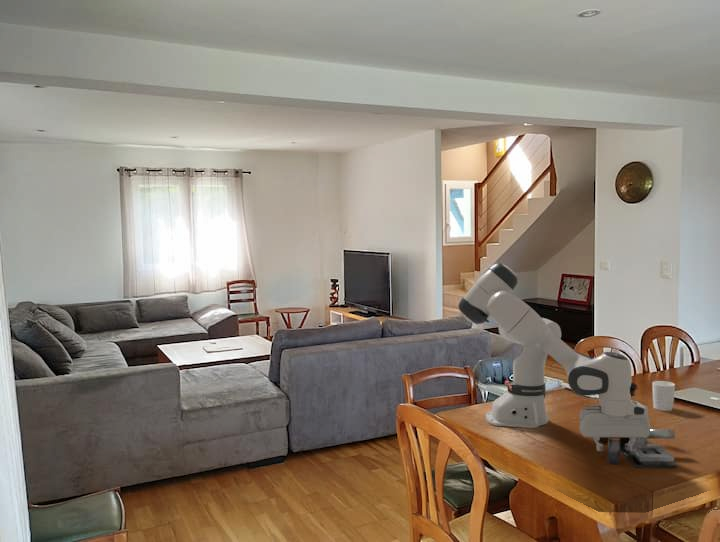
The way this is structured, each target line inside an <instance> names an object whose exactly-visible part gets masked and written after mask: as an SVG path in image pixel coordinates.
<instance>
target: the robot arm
mask: <svg viewBox="0 0 720 542" xmlns="http://www.w3.org/2000/svg"><path fill="white" fill-rule="evenodd" d="M518 281H519V280H518V277H517V276H516V273H515V271H514V270H513V269H512V268H511V267H509V266H507V265H506V264H503V263H499V262H498V263H497V262H495V263H494V264H492V265H491V266H490V267H489V268H488V270H487V271H485V272H483V274H482V275H481V276H480V277H478V279H477V280H475V282H474V283H473V285H472V286H471V288H469V290H468V291H467V292H466V294H465V295H464V297H462V298H461V299H460V300H459V303H458V311H460V314H461V316H462V317H463V318H464V320H466V321H468V322H470V323H472V324H475V325H482V324H484V323H490V320H489V318H490V319H492V320H493V321H494V322H495V324H496V325H498V334H499V335H500V336H501V337H502V339H504V340H506V341H509V342H511V343H514V344H517V345H522V346H523V349H522V350H523V351H522V353H521V355H519V356H517V357H516V358H515V359H514V360H513V362H512V365H513V366H512V374H513V375H512V381H509V380H505V381H504V386H505V387H507V391H506V392H505V393H503V394H502V395H500V396H499V397H498V398H496V399H495V400H494V401H493V403H492V406H491V411H487V412H486V414H485V419H486V422H488V423H489V424H491V425H493V426H497V427H513V428H523V429H524V428H525V429H526V428H527V429H528V428H529V429H536V428H538V427H540V426H543V425H546V424H548V423H549V419H548V415H547V410H546V409H547V408H546V401H545V399H546V382H545V365H546V360H547V358H548V355H549V356H550V357H551V358H552V359H553V360H555V361H556V362H557V363H558V364H560V365H561V367H563V369H564V371H565V373H566V374H567V375H566V376H567V382H568V385H569V386H568V387H569V388H570V389H571V391H573V392H574V393H575V394H578V395H580V396H595V395H596V396H597V395H598V399H599V400H598V405H585V406H584V407H582V408H581V409H580V410H579V419H580V420H579V426H578V429H579V430H578V431H579V433H580V434H581V435H582V436H583V437H584V438H592V440H593V441H594V443H595V444H596V445H595V448H596V451H597V452H603V451H604V445H603V444H602V443H600V441H599V440H600V437H629V439H630V440H629V442H628V444H625V450H626V451H632V446H633V444H634V443H635V442H636V437H640V438H647V437H648V436H649V435H650V429H651V421H650V418H649V408H648V409H647V408H646V407H645V406H646V405H644V406H643V404H642V403H640V402H638V401H635V400H632V397H631V395H630V387H631V382H632V367H631V362H630V360H629V359H628V358H627V357H626V356H625V355H623V354H620V353H617V352H613V351H605V352H603V353H602V354H600V355H598V356H597V357H594V358H593V357H591V356H590V355H587V354H584V353H582V352H578V351H576V350H575V349H573V348H572V347H571V346H570V345H568V344H567V343H566V341H564V340H562V339H561V338H562V330H561V327H560V325H559V324H558V323H557V322H556V321H555V322H554V321H553V320H550V319H548V318H544V317H541V316H540V314H538V312H536V310H535V309H533V308H532V307H531V306H530V305H528V303H526V302H525V301H523V300H522V299H521V298H519V297H518V296H516V295H514V294H512V293H511V292H512V290H515V288H516V287H517V284H518ZM647 414H648V416H647ZM647 439H648V438H647Z"/></svg>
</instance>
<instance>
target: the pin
mask: <svg viewBox="0 0 720 542" xmlns="http://www.w3.org/2000/svg"><path fill="white" fill-rule="evenodd" d="M607 463H609V464H611V465H619V464H620V463H621V452H620V437H608V443H607Z"/></svg>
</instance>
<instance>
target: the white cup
mask: <svg viewBox="0 0 720 542" xmlns="http://www.w3.org/2000/svg"><path fill="white" fill-rule="evenodd" d="M651 384H652V387H651V388H652V403H653V405H652V408H653V409H654V410H657V411H661V412H662V411H663V412H671V411H673V409H674V402H675V393H676V392H675V390H676V384H675V383H674V382H672V381H666V380H654V381H652V382H651Z"/></svg>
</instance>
